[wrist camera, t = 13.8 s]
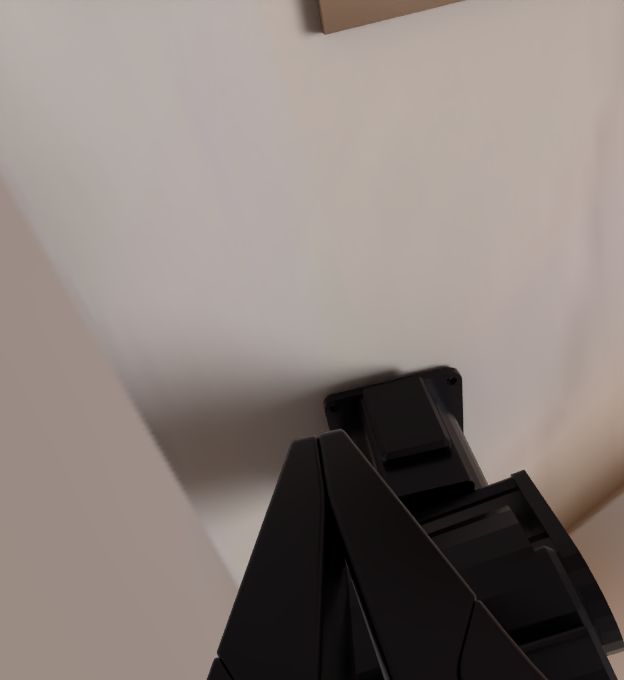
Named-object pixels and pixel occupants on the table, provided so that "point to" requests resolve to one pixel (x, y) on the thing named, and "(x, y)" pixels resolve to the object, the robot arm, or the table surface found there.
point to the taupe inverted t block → (369, 11)
